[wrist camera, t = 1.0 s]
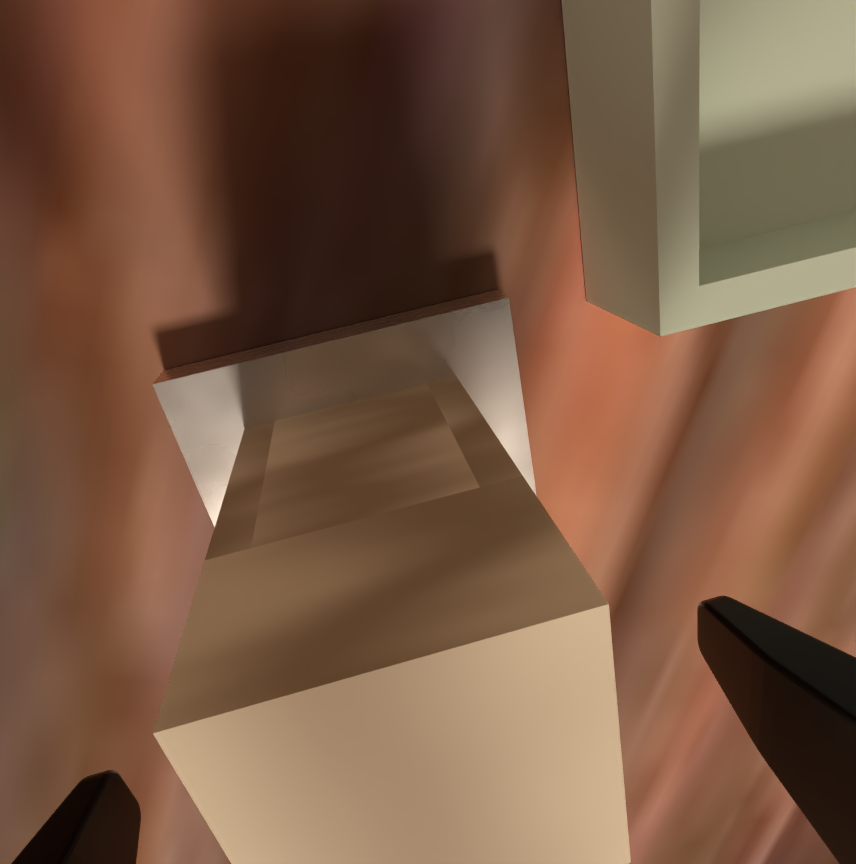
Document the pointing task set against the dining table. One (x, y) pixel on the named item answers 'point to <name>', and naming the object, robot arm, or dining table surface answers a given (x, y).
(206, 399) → the stud block
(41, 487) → the dining table surface
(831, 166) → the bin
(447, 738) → the tan rectangular block
